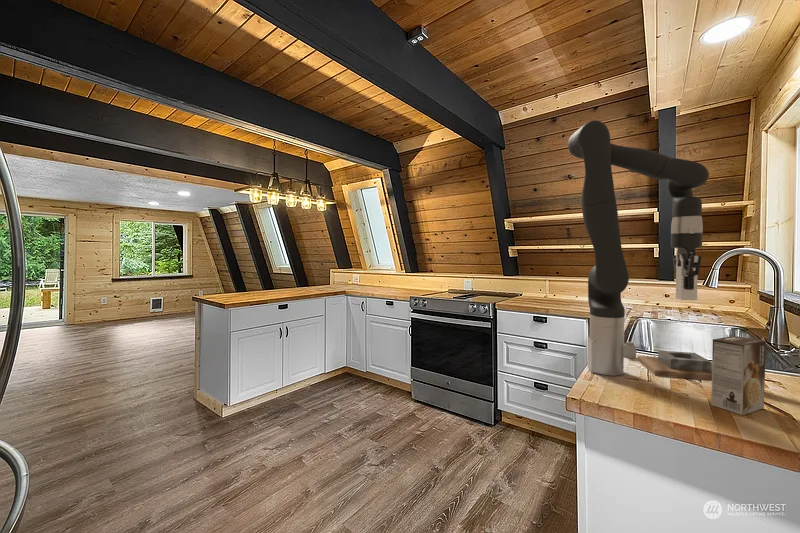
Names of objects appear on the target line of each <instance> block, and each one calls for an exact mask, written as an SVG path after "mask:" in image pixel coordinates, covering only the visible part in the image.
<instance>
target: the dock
mask: <svg viewBox="0 0 800 533" xmlns="http://www.w3.org/2000/svg"><path fill="white" fill-rule="evenodd" d="M657 352H658V353H657V356H647V355H645V356H644V355H636V359H637V361H638V363H640V364H642V366H644V367H645V368H646V369H647V371H650V372H651V373H652V374H653V375H654V376H657V377H658V376H660V377H672V378H683V379H684V378H685V379H696V380H707V381H712V360H708V359H707V358H705V357H703V356H702V355H701V354H700V355H699V354H698V353H696V352H688V351H675V350H674V351H671V350H660V349H659V350H658V351H657Z"/></svg>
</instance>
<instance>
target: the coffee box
mask: <svg viewBox="0 0 800 533" xmlns="http://www.w3.org/2000/svg"><path fill="white" fill-rule="evenodd" d="M766 343H767V341H766V340H762V339H756V338H749V337H744V336H738V335H737V336H736V335H731V336H725V337H720V338H713V339H712V353H711V354H712V355H711V356H712V357H711V358H712V360H711V362H712V380H711V400H710V401H711V403H710V404H711V406H713V407H716V408H720V409H721V410H726V411H729V412H731V413H735V414H738V415H741V416H745V415H748V414H751V413H754V412H757V411H760V410H762V409H764V408H765V388H766V387H765V386H766V384H765V383H766V382H765V380H766V347H767V345H766Z"/></svg>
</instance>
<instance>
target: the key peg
mask: <svg viewBox="0 0 800 533" xmlns="http://www.w3.org/2000/svg"><path fill="white" fill-rule="evenodd" d="M691 271H692V270H691ZM698 276H699V274H698V275H696V276H695V277H694V289H693V290H686V289H684V277H685V276H684V269H682V267H681V266H676V273H675V299H677V300H680V301H698V278H699V277H698Z"/></svg>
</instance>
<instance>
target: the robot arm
mask: <svg viewBox="0 0 800 533" xmlns="http://www.w3.org/2000/svg"><path fill="white" fill-rule="evenodd" d="M567 142H568V143H567V148H568V151H569V152H570V154H571V155H572V156H574V157H575V158H578V159H581V160H583V163H584V180H583V186H582V190H581V198H580V200H581V201H580V206H581V212H582V219H583V223H584V227H585V230H586V233H587V235H588V236H589V237H588V238H589V240H590V242H591V244H592V247H593V248H592V249H593V251H594V260H595V261H594V262H595V265H594V266H593V267H592V268H591V269H590V270H589V273H588V277H587V298H588V299H587V301H588V307H589V336H588V337H587V368H588V370H589V371H590V373H595V374H600V375H603V376H604V375H605V376H610V377H611V376H613V377H614V376H621V375H624V368H625V367H624V366H625V365H624V363H625V362H624V360H625V359H624V358H625V357H624V344H625V314H626V313H625V311H626V308H625V306H624V305H623V301H622V296H621V295H622V294H621V293H623V292H624V290H626V289H627V288H628V285H629V281H630V275H629V270H628V267H627V265H626V261H625V256H624V253H623V248H622V241H621V230H620V222H619V212H618V205H617V198H616V193H615V186H614V180H613V179H614V178H613V170H612V166H615V167H618V168H622V169H624V170H628V171H631V172H635V173H638V175H639V174H640V175H643V176H645V177H648V178H651V179H653V180H658V181H659V180H667V184H666V185H667V190H668V195H669V198H670V200H671V204H672V209H671V210H672V212H671V213H672V217H671V218H672V220H671V226H670V248H672V249H677V251H676V254H675V255H672V263H673V271H674V272H673V273H674V274H676V266H681V267H682V269H684V276H685V277H684V289H686V290H693V289H694V277H695V276H696V275H698V276H699V273H700V267H701V263H702V256H701V255H697V251H696V249H699V248H703V247H702V246H703V237H704V236H703V231H704V230H703V229H704V228H703V227H704V226H703V225H704V223H703V216H702V215H703V208H702V207H703V201H702V198H700V197H699V196H694V194H693V189H696V188H697V187H700V186H701V187H702V185H704V184H706V182H707V181H708V180H709V177H710V172H709V170H708V168H707V167H706V166H705V165H704V164H702V163H700V162H697V161H694V160H690V159H689V160H687V159H683V158H677V157H676V158H675V157H670V156H668V155H665V154H662V153H660V152H657V151H654V150H651V149H646V148H641V147H631V146H623V145H618V144H614V143H611V134H610V130H609V128H608V126H607V125H606V124H605V123H604V122H603V121H600V120H596V119H595V120H590V121H588V122H586V123H585V124H583V125H582V126H581V127H579V128H578V129H577V130H575V132H573V133H572V135H571V136H570V137H569V139H568V141H567ZM691 270H692V271H691Z"/></svg>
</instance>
